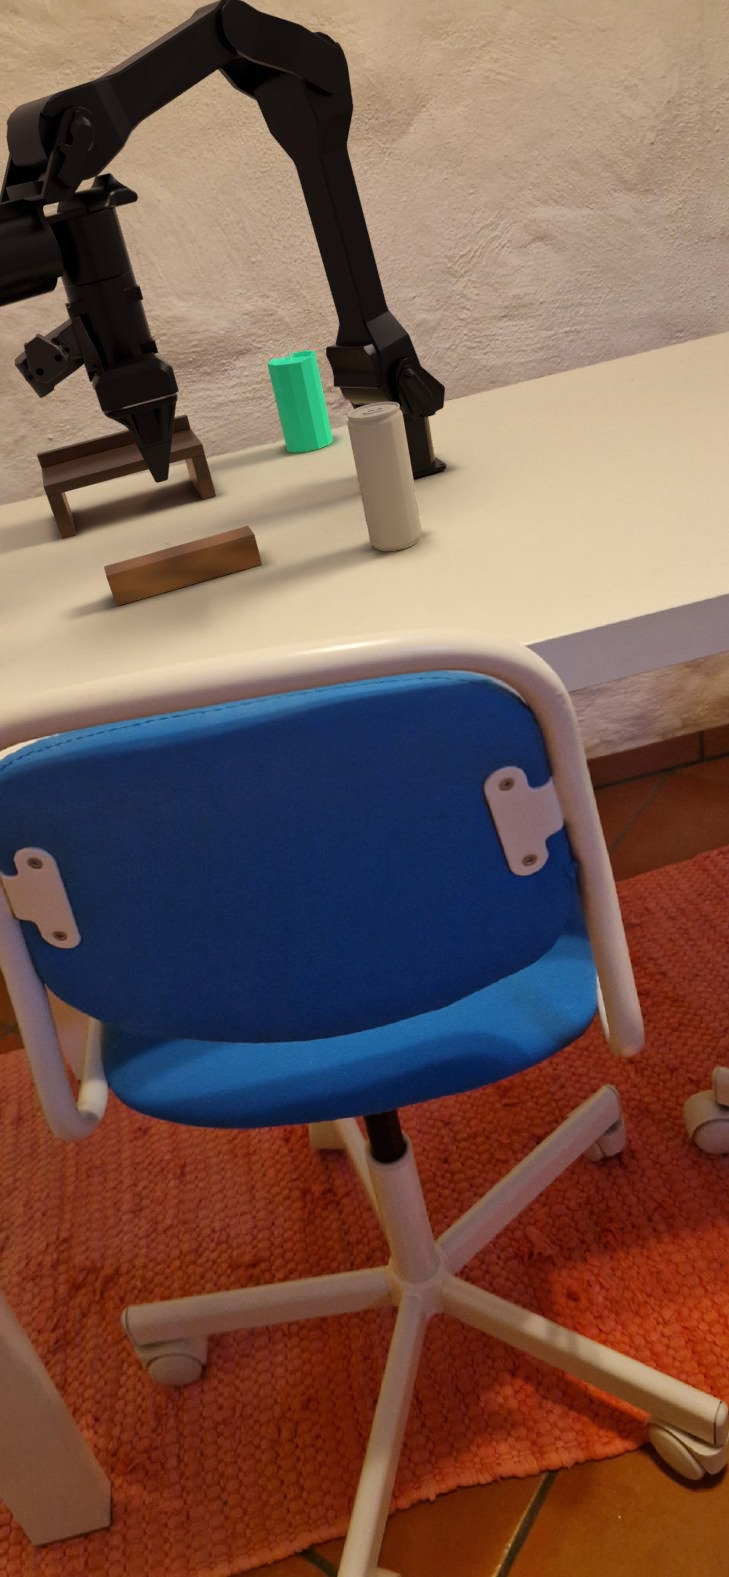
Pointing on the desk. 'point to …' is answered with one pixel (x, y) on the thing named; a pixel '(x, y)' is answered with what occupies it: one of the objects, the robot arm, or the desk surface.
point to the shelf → (114, 466)
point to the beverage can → (385, 475)
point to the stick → (182, 565)
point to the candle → (300, 401)
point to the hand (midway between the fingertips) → (155, 469)
